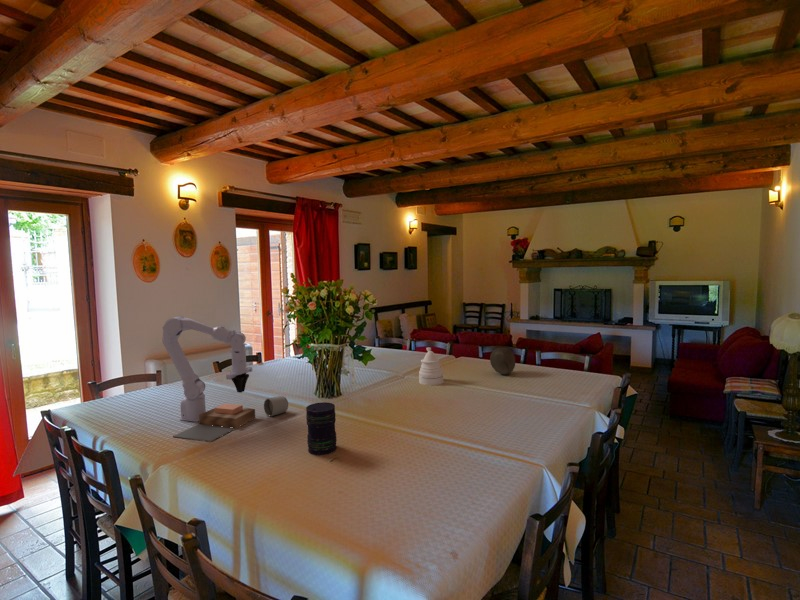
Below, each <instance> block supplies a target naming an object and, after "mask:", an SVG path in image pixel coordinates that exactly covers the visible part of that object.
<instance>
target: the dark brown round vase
mask: <svg viewBox="0 0 800 600" xmlns="http://www.w3.org/2000/svg"><path fill="white" fill-rule="evenodd" d="M489 361H490V362H489V363H490V365H491V368H493V370H494V371H495V372H497V373H498V374H500V375H505V376H506V375H509V374H511V373H512V372H514V369H515V368H516V367H515V366H516V357H515V354H514V352H512V350H511V349H510V348H507V347H497V348H495V349H493V351H492V352H491V353H490V357H489Z"/></svg>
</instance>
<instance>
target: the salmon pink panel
mask: <svg viewBox="0 0 800 600" xmlns="http://www.w3.org/2000/svg"><path fill="white" fill-rule="evenodd" d="M214 408H215V413H224V414H235V413H237V412H239V411H241V410H243V408H244V406H243V404H236V403H235V404H234V403H233V404H232V403H223V404H221V405H218V406H216V407H214Z"/></svg>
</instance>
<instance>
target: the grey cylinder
mask: <svg viewBox="0 0 800 600" xmlns="http://www.w3.org/2000/svg"><path fill="white" fill-rule="evenodd" d="M288 408H289V400H288V399H287V397H286V396H284V395H278V396H272V397H267V398H266V399H265V400H264V402H263V410H264V413H265V414H266V416H267V415H268V417H269V415H270V416H271V417H275V416H276V415H281V414H284V413H286V412H287V411H288Z"/></svg>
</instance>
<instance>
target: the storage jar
mask: <svg viewBox="0 0 800 600" xmlns="http://www.w3.org/2000/svg"><path fill="white" fill-rule="evenodd" d="M335 406H336V405H335V404H334V403H332V402H324V401H323V402H316V403H315V402H314V403H312V404H309V405H307V406H306V407H305V408H306V409H305V412H306V414H305V418H306V425H307V437H306V439H307V442H306V443H307V447H308V449H307V452H308V453H309V454H310V455H312V456H325V455H326V456H327V455H329V454H332V453H335V452H336V450H337V431H336V407H335Z"/></svg>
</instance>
